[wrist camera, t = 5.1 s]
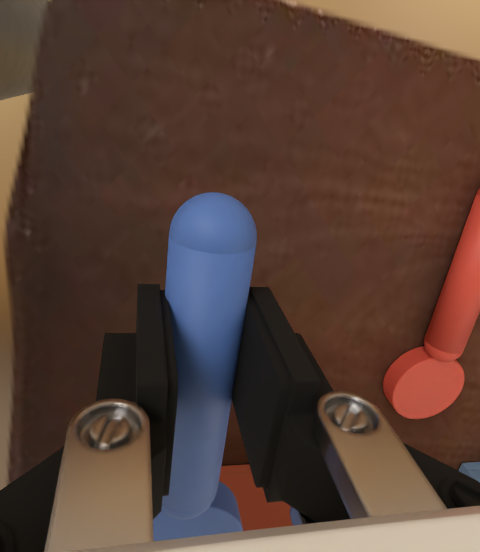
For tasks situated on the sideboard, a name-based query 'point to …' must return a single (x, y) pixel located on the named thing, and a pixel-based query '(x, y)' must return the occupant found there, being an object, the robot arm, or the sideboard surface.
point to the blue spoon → (205, 357)
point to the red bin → (253, 500)
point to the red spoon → (441, 336)
